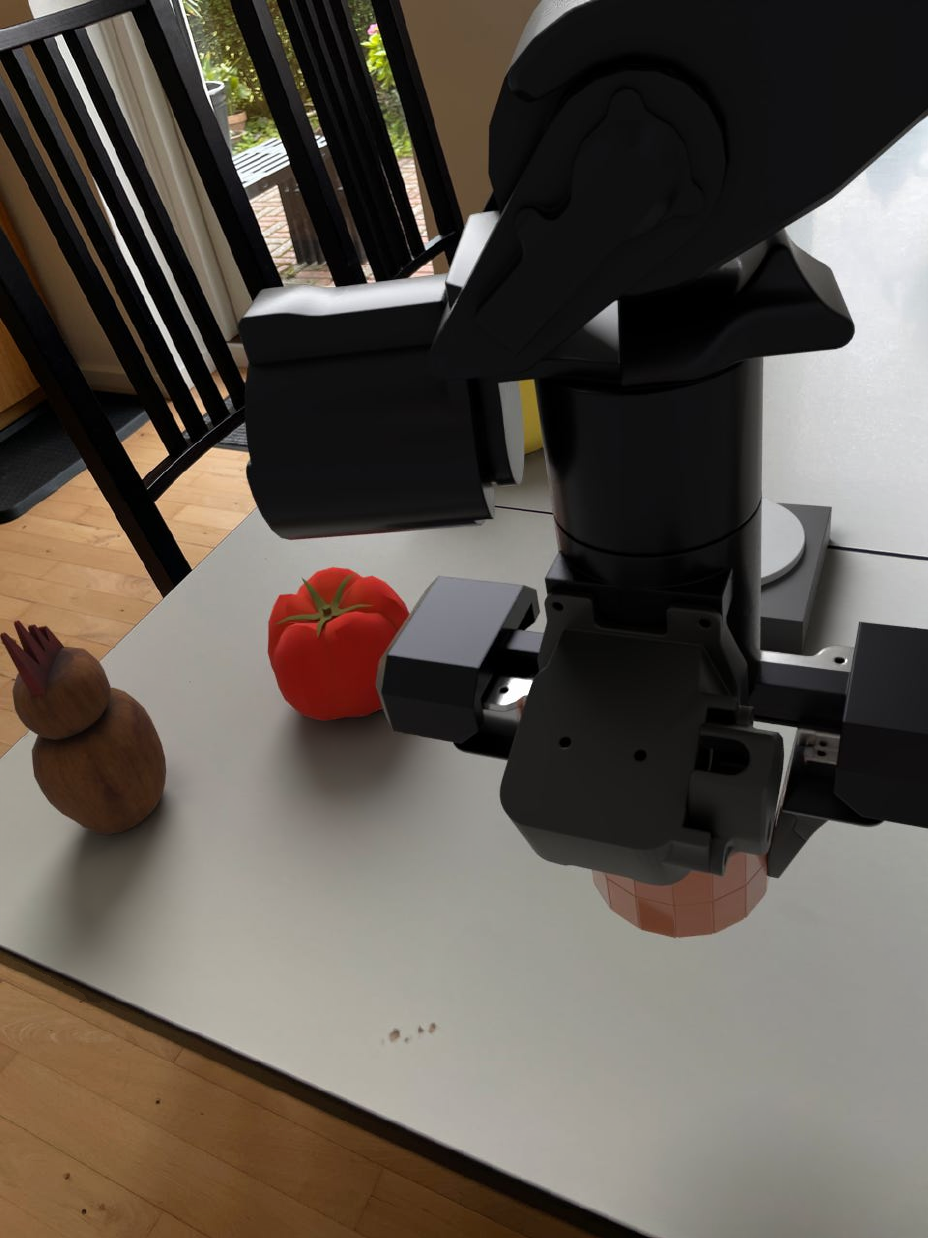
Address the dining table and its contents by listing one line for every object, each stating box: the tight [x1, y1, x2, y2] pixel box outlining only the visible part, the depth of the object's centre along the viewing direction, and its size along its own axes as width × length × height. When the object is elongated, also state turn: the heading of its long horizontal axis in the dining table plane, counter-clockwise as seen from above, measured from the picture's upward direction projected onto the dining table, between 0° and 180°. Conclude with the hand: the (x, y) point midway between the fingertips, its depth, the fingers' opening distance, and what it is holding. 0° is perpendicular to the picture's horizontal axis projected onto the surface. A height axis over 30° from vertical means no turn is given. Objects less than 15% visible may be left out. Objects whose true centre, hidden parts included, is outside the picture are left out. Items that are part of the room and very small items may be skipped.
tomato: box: [267, 566, 410, 721], centre depth 61 cm, size 9×9×8 cm
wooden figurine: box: [0, 619, 167, 835], centre depth 54 cm, size 7×6×15 cm
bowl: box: [591, 852, 771, 939], centre depth 37 cm, size 7×7×4 cm
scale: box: [760, 497, 833, 655], centre depth 65 cm, size 12×12×3 cm
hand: (677, 847), depth 37 cm, fingers closed on bowl, 7 cm apart
